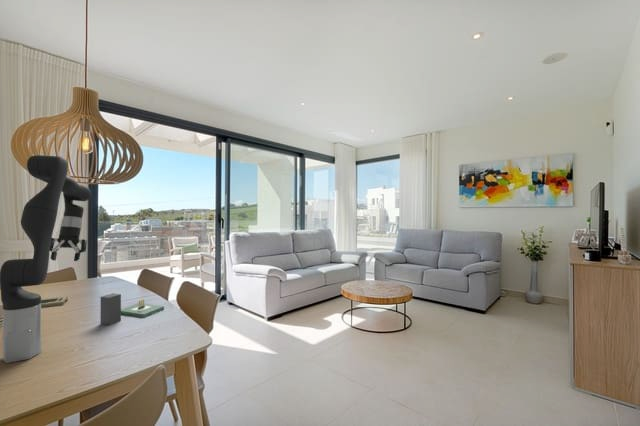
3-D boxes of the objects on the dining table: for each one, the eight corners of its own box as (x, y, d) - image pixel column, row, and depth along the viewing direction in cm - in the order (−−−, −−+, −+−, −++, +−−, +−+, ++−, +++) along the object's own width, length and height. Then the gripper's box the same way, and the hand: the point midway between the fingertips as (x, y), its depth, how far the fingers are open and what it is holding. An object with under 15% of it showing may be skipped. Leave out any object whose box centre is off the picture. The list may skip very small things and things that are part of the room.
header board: (164, 309, 148) (164, 298, 148) (143, 317, 137) (143, 305, 136) (139, 305, 153) (139, 295, 152) (117, 313, 141) (117, 302, 141)
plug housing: (120, 320, 132) (120, 294, 132) (108, 325, 127) (108, 297, 127) (112, 319, 134) (112, 293, 134) (100, 323, 128) (100, 296, 128)
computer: (22, 310, 145) (22, 303, 144) (28, 305, 152) (28, 299, 152) (63, 305, 152) (63, 299, 152) (67, 301, 159) (67, 295, 159)
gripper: (48, 224, 135) (41, 260, 132) (85, 226, 139) (79, 261, 136) (56, 226, 142) (50, 260, 139) (91, 228, 146) (86, 261, 143)
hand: (64, 260), depth 138 cm, fingers open, 8 cm apart
